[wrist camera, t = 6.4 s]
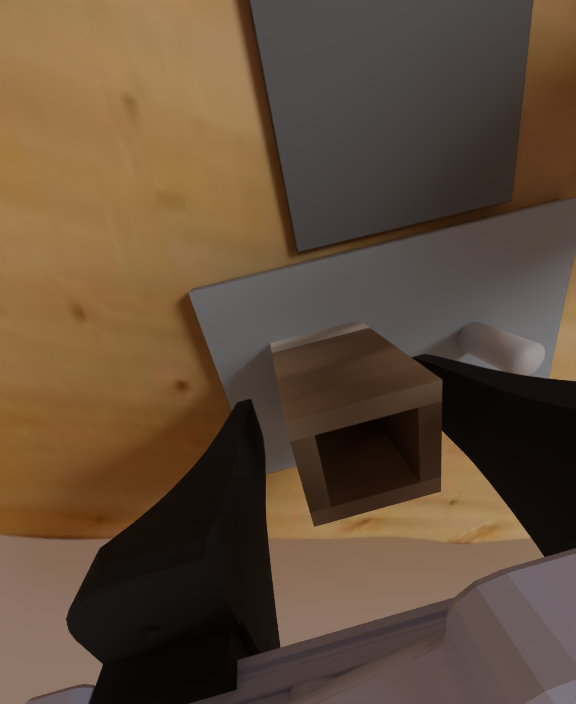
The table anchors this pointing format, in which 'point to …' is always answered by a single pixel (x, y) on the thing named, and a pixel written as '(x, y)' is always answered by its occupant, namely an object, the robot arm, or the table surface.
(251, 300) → the pin board
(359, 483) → the sleeve
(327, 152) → the mat
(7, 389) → the table surface
